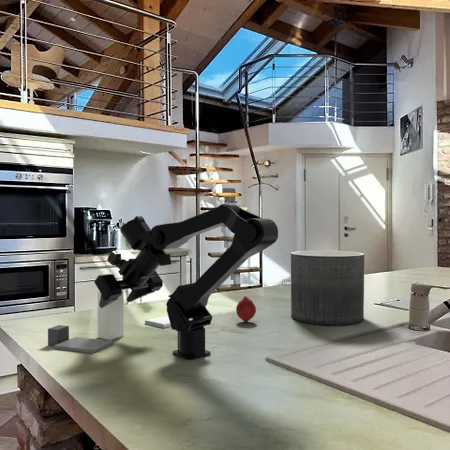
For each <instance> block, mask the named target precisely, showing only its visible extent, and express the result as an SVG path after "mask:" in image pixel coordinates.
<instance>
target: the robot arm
mask: <svg viewBox="0 0 450 450" xmlns="http://www.w3.org/2000/svg"><path fill="white" fill-rule="evenodd" d="M223 226H226V227H227V229H228V230H229V231H230V232H231V233H232V234H234V235H233V238H232V241H231V245H230V246H229V247H228V248H227V249H226V250H225V251H224V252H223V253H222V254H221V255H220V256H219V257H218V258H217V260H215V261H214V262H213V263H212V264H211V265H210V266H209V267H208V268H207V269H206V270H205V271H204V272H203V273H202V274H201V275H200V276H199V277H198V279H197V280H196V281H195V282H191V283H190V282H189V283H185V284H180V285H178V286H177V287H176V288H175V289H174V291H173V292H172V293H171V294H168V300H167V302H166V305H165V306H166V313H167V316H168V317H169V321H170V324H171V330H175V331H176V332H177V349H175V350H172V354H173V355H176V356H178V357H180V358H183V359H186V360H192V359H196V358H200V357H204V356H207V355H208V356H209V355H211V352H212V351H209V350H207V349H206V326H210V325H211V323H212V320H213V315H212V314H211V313H210V311H209V310H208V309H207V305H208V304H209V303H208V302H209V298H210V297H211V295H212V294H213V293H214V292H216V290H217V289H219V287H220V286H221V285H223V283H224V282H226V281H227V280H228V279H229V278H230V277H231V276H232V275H233V274H234V273H235V272H236V271H237V270H238V269H239V268H240V267H241V266H242V265H243V264H244V263H245V262H246V261H247V260H249V258H251V257H252V256H255V255H257V254H258V253H261V252H263V251H265V250H266V249H268V248H269V247H271V246H272V245H273V244H275V243H276V241H278V239H279V227H278V226H277V224H276V222H275V221H274V220H273V219H270V218H262V217H260V216H259V215H257V214H254V213H253V212H252V213H251V212H250V211H248V210H245V209H243V208H242V207H240V206H238V205H237V204H234V203H221V204H219V205H218V206H217V207H214V208H212V209H210V210H207V211H205V212H202V213H199V214H197V215H194V216H191V217H189V218H187V219H184V220H181V221H179V222H170V223H163V224H157V225H154V226H153V227H152V228H150V226H149V225H148V224H147V223H146V220H145V219H144V217H143V216H142V215H136V216H135V217H134V218H133V219H130V220H128V221H127V222H126V223H123V225H122V226H121V228H120V233H121V235H122V236H123V238H124V239H125V240H126V242H127V244H128V245H129V247H130V248H131V249H132V250H133V251H136V250H138V251H139V253H138V254H137V255H134V254H133V253H132V252H130V251H129V250H126V249H119V250H113V251H111V252H110V253H109V254H108V256H107V262H108V263H109V264H111V266H113V267H114V266H115V267H116V268H118V269H119V270H118V274H119V275H120V276H122V277H121V278H122V279H121V280H118V279H117V278H116V276H115V274H113V273H106V274H98V275H97V276H96V279H95V280H94V281H93V282H94V284H95V286H96V288H97V289H98V291H100V293H101V298H100V303H99V306H100V307H101V308H103V307H105V306H107V305H109V304H110V303H112V302H114V301H116V300H117V299H118V297H119V296H120V295H121V294H122V290H123V291H126V290H131V291H130V292H129V293H128V296H127V298H126V301H127V303H131V302H134V301H136V300H139V299H141V298H143V297H146V296H148V295H151V294H152V293H153V294H154V293H155V292H158V291H160V290H161V289H162V287H163V286H164V285H163V282H164V281H163V280H162V278H161V276H160V275H159V274H158V272H157V269H158V267H159V266H160V267H165V266H171V265H172V259H171V254H170V253H167V252H166V251H165V250H174V249H178V248H180V247H181V246H183V245H185V244H186V243H188V241H189V240H190V239H191V238H193V237H195V236H198V235H201V234H204V233H207V232H209V231H212V230H215V229H217V228H220V227H223ZM190 318H192V319H193V320H191V321H190V320H189V319H190Z"/></svg>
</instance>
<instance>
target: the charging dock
mask: <svg viewBox="0 0 450 450" xmlns="http://www.w3.org/2000/svg"><path fill="white" fill-rule="evenodd" d="M113 344H114V341H113V340H107V339H101V338H89V337H79V336H74V337H73V338H70V326H69V325H63V324H62V325H61V324H58V325H56V326H55V325H54V326H53V327H49V328H47V345H48V346H52V347H53V349H54V350H63V351H71V352H81V353H88V354H89V353H90V354H94V353H97V352H99V351H101V350H103V349H105V348H107V347H109V346H111V345H113Z"/></svg>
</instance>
